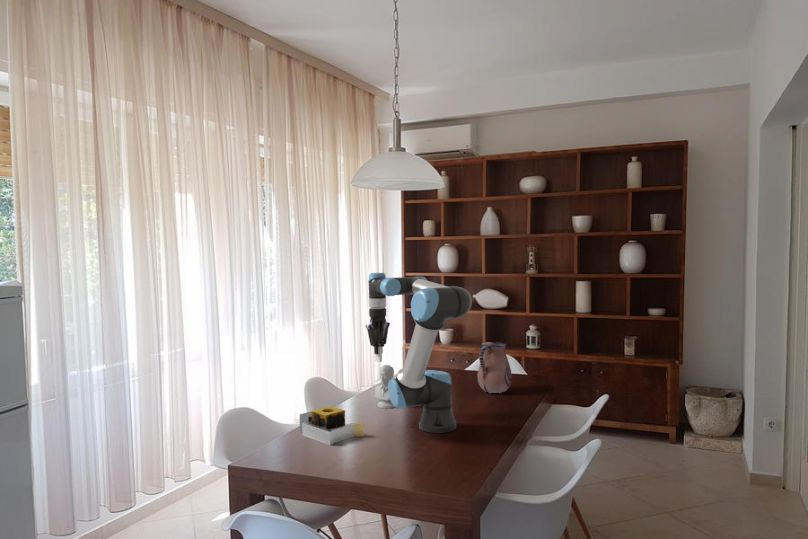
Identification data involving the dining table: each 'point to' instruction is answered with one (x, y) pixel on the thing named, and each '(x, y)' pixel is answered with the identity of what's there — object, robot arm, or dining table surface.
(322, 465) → the dining table surface
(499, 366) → the ceramic pitcher
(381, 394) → the figurine
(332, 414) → the yellow and black cube
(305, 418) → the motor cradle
